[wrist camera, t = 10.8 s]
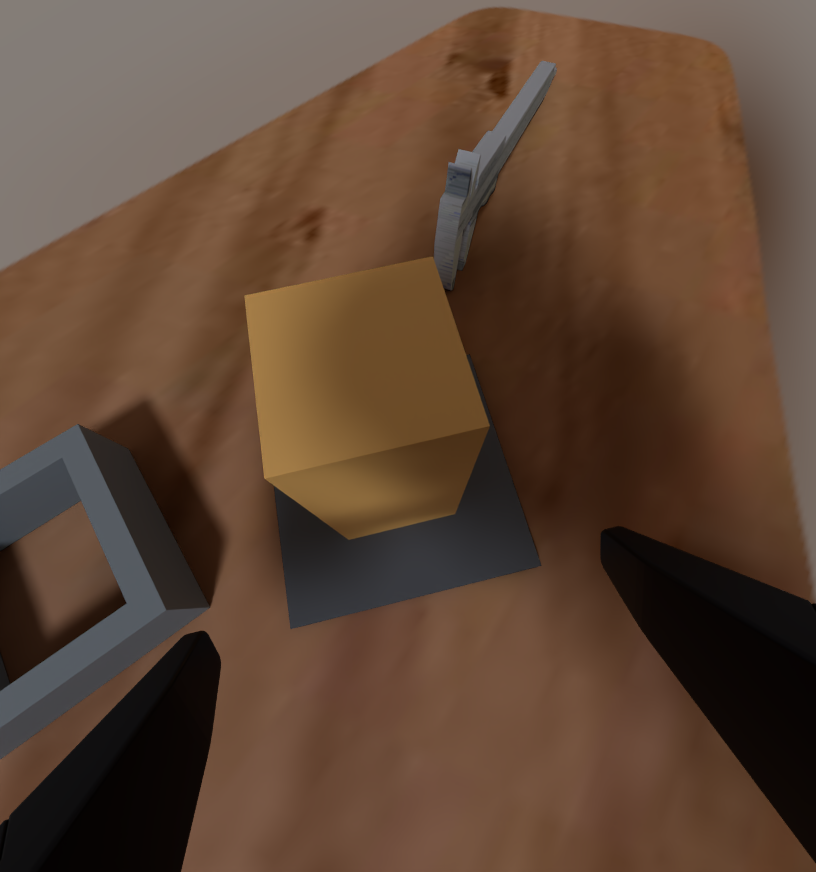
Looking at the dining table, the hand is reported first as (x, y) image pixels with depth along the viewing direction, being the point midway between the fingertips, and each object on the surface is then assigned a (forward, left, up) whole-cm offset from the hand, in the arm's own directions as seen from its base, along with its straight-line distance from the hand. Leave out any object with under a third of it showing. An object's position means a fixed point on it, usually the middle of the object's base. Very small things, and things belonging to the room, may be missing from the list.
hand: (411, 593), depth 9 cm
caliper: (+25, 0, -8) cm, 26 cm away
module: (+4, +2, -7) cm, 9 cm away
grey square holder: (-3, +14, -8) cm, 16 cm away
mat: (+4, +2, -8) cm, 9 cm away
